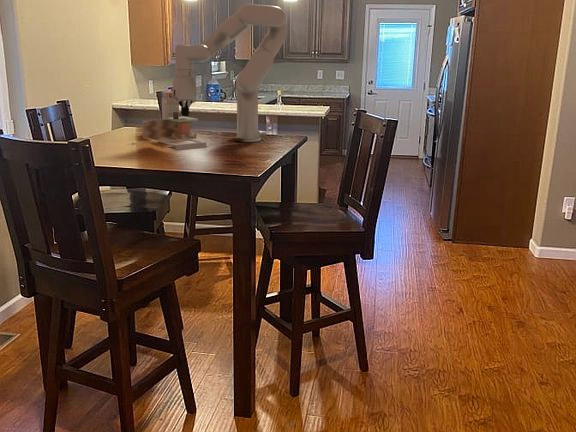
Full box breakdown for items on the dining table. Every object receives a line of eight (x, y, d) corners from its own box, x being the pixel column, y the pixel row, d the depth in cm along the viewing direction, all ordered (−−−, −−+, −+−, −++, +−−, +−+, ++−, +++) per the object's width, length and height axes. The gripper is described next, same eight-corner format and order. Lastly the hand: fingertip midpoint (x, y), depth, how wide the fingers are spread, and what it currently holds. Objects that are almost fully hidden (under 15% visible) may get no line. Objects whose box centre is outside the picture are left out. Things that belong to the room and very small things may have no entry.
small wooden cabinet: (186, 137, 262) (186, 118, 259) (200, 141, 252) (200, 121, 250) (142, 141, 249) (141, 121, 246) (156, 145, 239) (155, 124, 236)
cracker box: (180, 137, 262) (179, 92, 256) (167, 138, 260) (166, 92, 254) (174, 133, 275) (173, 90, 269) (162, 134, 272) (160, 90, 267)
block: (185, 136, 254) (185, 121, 252) (190, 137, 251) (189, 122, 249) (177, 137, 252) (177, 121, 250) (182, 138, 249) (181, 122, 247)
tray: (189, 143, 246) (189, 138, 246) (206, 147, 236) (206, 142, 235) (160, 145, 238) (160, 140, 237) (176, 150, 227) (176, 144, 227)
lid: (184, 118, 259) (184, 109, 258) (198, 120, 249) (198, 112, 248) (164, 119, 253) (164, 110, 252) (178, 122, 243) (178, 113, 242)
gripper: (195, 73, 253) (195, 114, 258) (164, 73, 243) (166, 116, 248) (203, 74, 247) (204, 116, 252) (172, 74, 238) (174, 117, 243)
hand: (185, 116), depth 250 cm, fingers closed
